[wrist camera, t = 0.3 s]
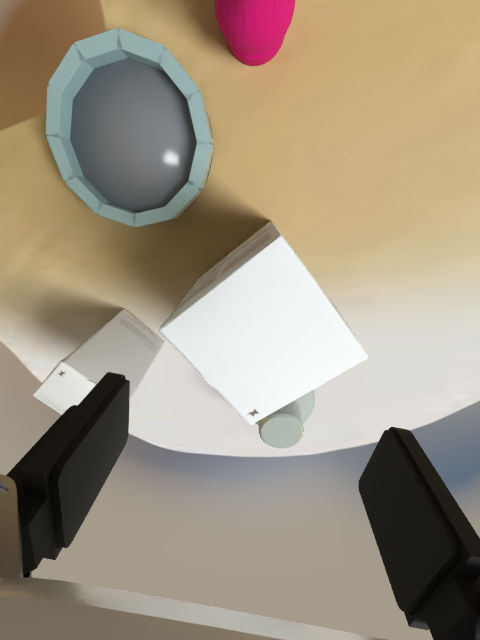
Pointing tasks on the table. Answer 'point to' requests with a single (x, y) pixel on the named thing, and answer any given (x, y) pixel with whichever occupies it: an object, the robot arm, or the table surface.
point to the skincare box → (101, 361)
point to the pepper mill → (254, 27)
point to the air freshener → (287, 422)
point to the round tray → (128, 128)
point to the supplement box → (262, 328)
